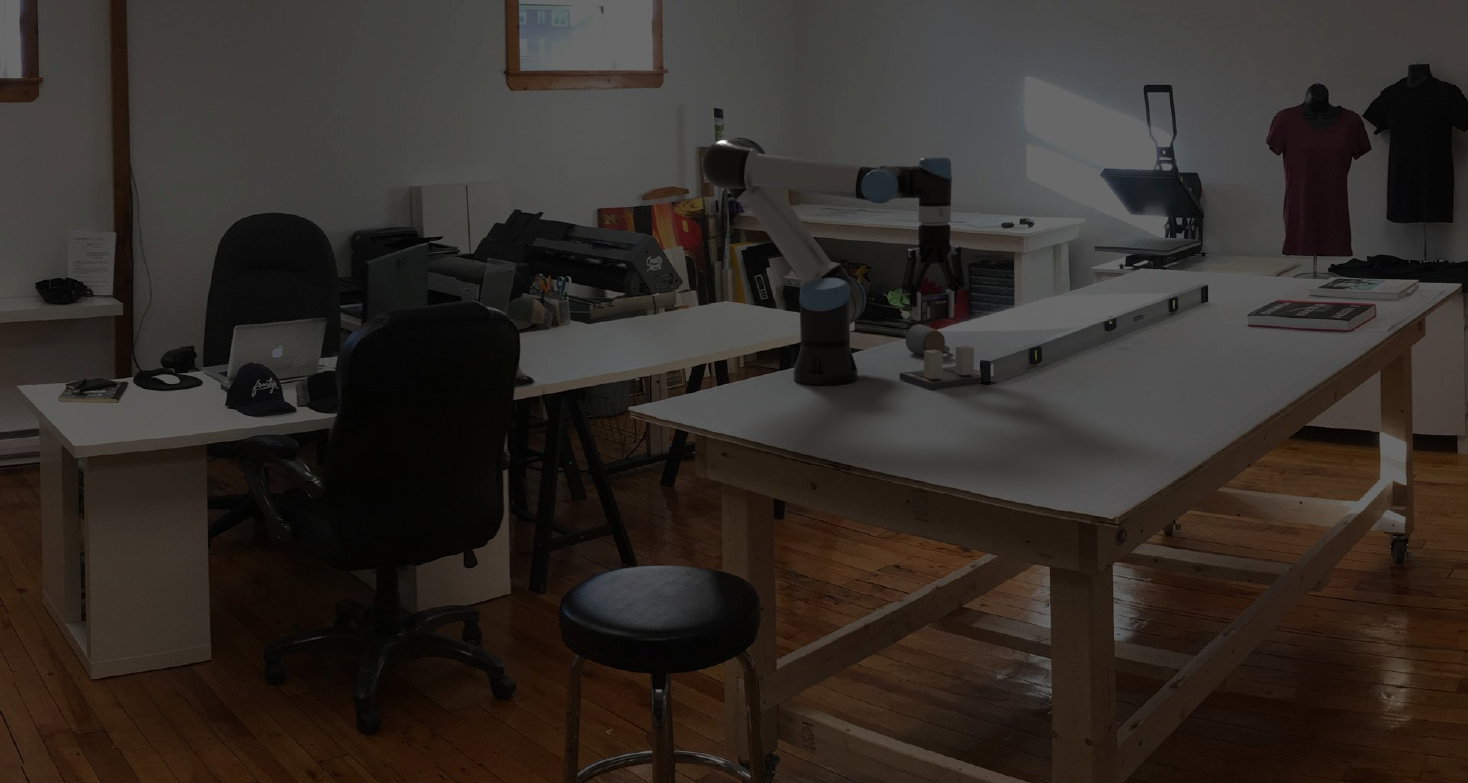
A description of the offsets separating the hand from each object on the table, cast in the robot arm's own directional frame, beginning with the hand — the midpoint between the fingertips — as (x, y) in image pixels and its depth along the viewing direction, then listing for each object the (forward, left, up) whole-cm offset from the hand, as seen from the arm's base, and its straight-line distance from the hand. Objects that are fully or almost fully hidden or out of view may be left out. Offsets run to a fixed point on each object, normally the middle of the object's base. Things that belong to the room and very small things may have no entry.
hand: (933, 318), depth 309 cm
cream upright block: (-8, -13, -11) cm, 19 cm away
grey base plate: (-3, -10, -13) cm, 17 cm away
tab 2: (0, -13, -11) cm, 17 cm away
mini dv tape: (0, 0, -1) cm, 1 cm away
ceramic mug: (+11, +20, -13) cm, 26 cm away
